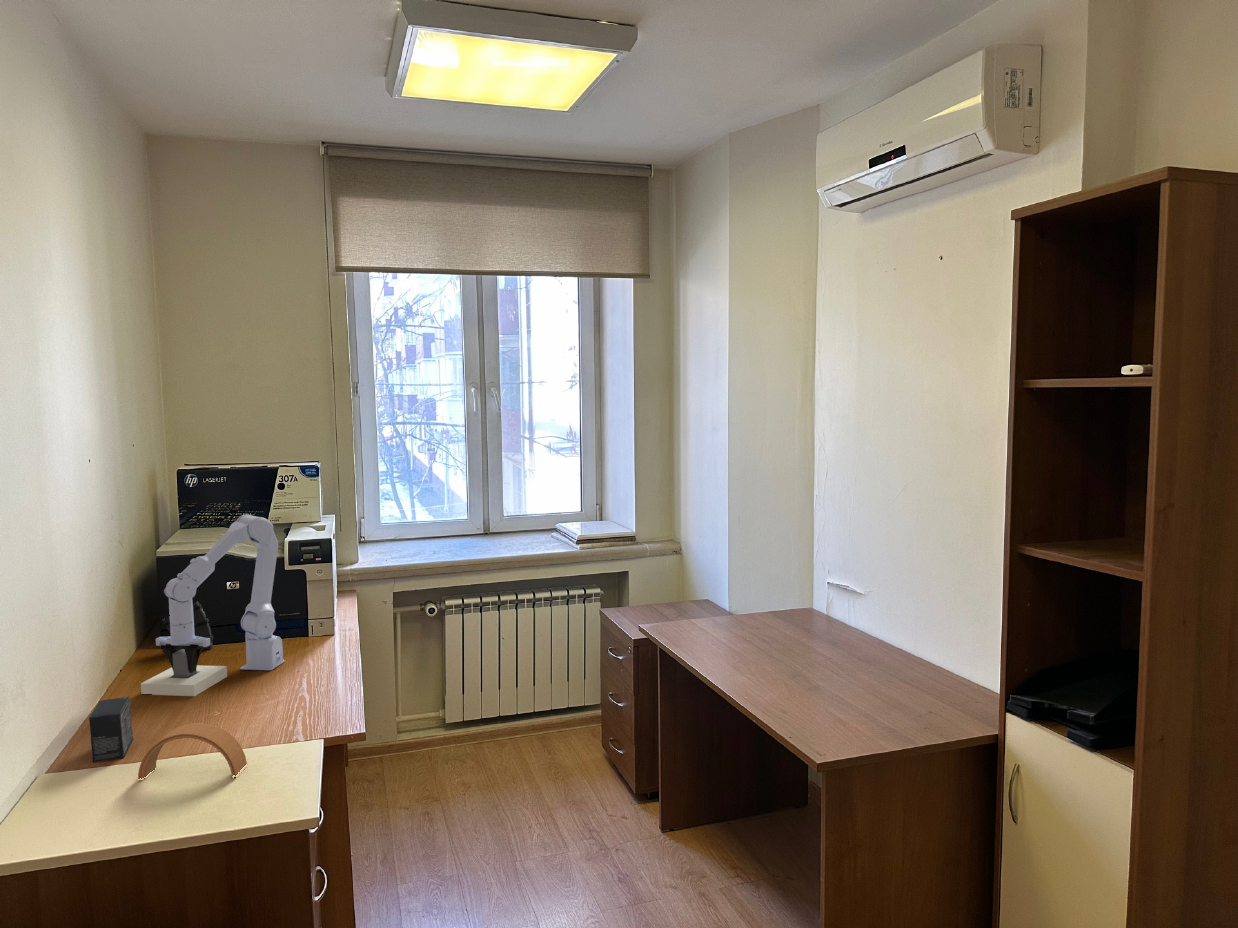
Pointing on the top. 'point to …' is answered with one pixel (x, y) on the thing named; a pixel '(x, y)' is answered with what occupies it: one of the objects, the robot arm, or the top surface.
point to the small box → (111, 729)
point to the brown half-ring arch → (204, 733)
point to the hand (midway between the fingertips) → (184, 671)
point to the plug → (181, 665)
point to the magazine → (196, 625)
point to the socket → (184, 682)
